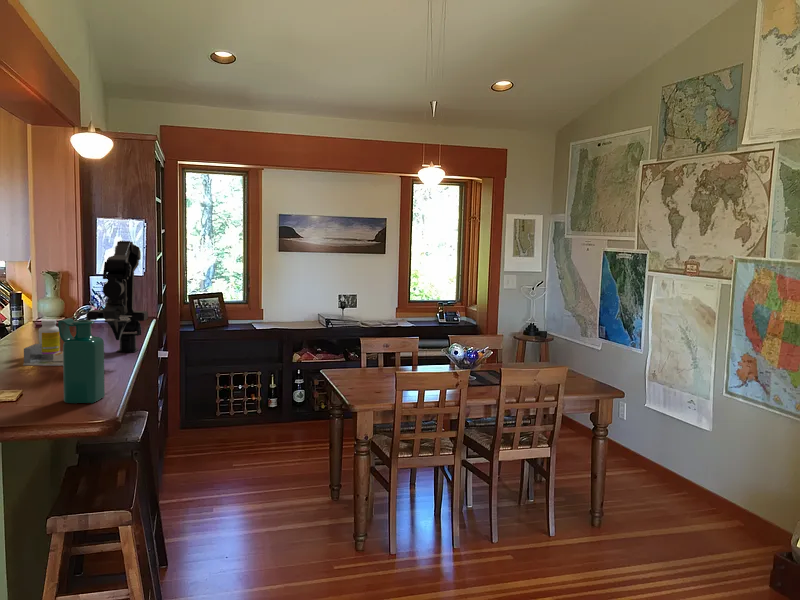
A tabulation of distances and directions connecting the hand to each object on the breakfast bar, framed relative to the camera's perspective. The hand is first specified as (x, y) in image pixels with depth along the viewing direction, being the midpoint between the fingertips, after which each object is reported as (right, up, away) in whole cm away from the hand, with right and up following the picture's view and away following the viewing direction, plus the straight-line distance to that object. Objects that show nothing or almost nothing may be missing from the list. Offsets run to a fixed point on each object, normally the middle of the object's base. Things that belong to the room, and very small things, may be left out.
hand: (117, 340), depth 215 cm
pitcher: (+11, -14, -46) cm, 49 cm away
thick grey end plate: (-14, -7, -2) cm, 15 cm away
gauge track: (-22, -8, -2) cm, 23 cm away
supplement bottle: (-29, -6, +9) cm, 31 cm away
